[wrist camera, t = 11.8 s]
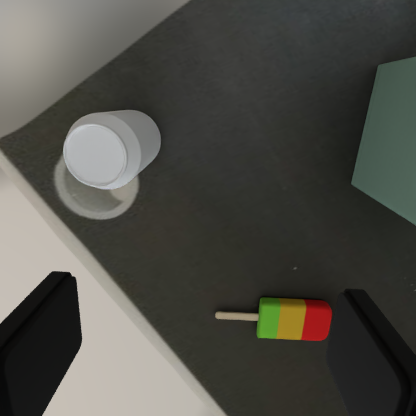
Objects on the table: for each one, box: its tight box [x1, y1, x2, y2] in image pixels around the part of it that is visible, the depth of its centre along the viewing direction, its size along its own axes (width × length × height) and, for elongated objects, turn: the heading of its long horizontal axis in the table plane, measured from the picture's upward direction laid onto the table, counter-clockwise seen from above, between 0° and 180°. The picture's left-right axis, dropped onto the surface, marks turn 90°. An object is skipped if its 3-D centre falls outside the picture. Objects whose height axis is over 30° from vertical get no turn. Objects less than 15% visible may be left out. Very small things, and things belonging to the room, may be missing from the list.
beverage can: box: [63, 110, 161, 189], centre depth 29 cm, size 6×6×12 cm
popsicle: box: [216, 297, 332, 341], centre depth 41 cm, size 6×15×2 cm, turn 88°
